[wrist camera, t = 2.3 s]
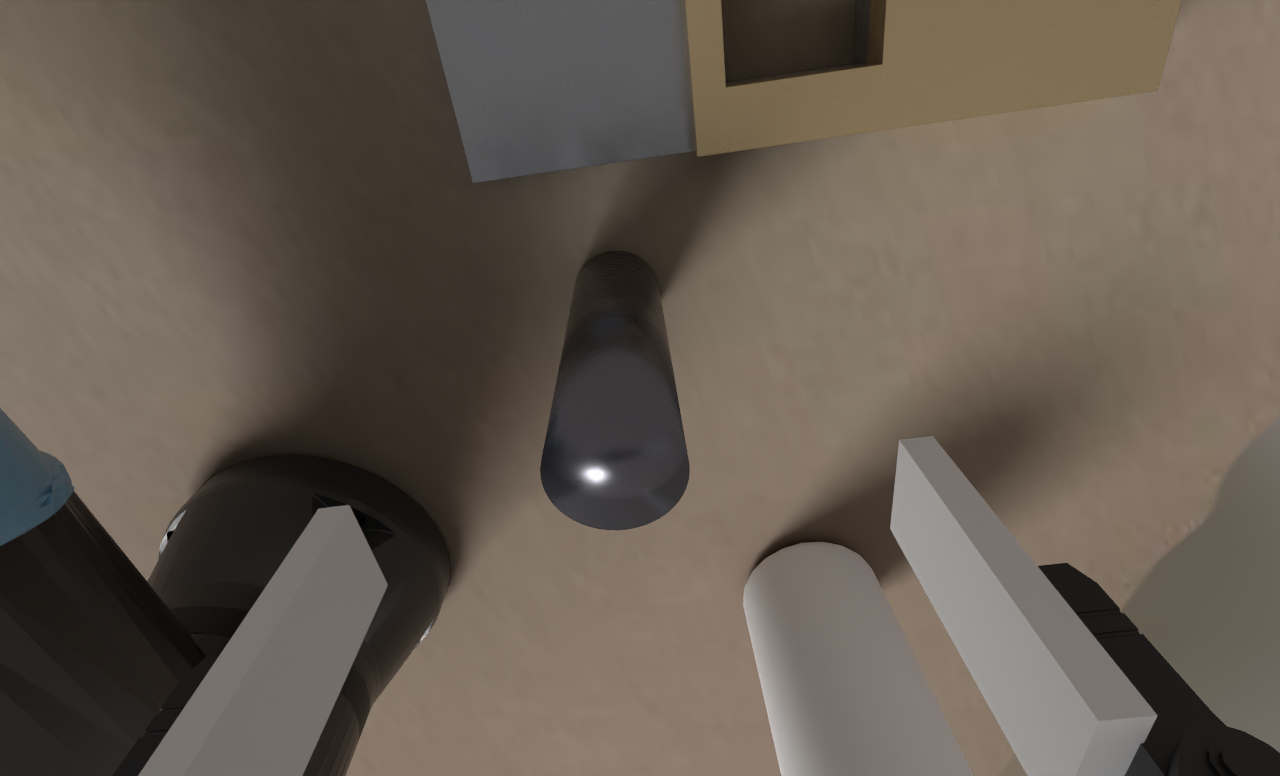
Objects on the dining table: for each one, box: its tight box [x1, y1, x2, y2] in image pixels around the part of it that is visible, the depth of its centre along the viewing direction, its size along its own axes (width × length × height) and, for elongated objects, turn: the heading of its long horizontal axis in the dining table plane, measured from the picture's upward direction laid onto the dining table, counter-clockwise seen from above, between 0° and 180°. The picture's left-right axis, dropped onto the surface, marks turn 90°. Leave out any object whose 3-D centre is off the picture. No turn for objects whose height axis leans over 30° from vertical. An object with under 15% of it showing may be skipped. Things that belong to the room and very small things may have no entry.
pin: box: [540, 251, 689, 530], centre depth 22 cm, size 4×4×14 cm
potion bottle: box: [743, 542, 974, 776], centre depth 30 cm, size 8×8×18 cm
